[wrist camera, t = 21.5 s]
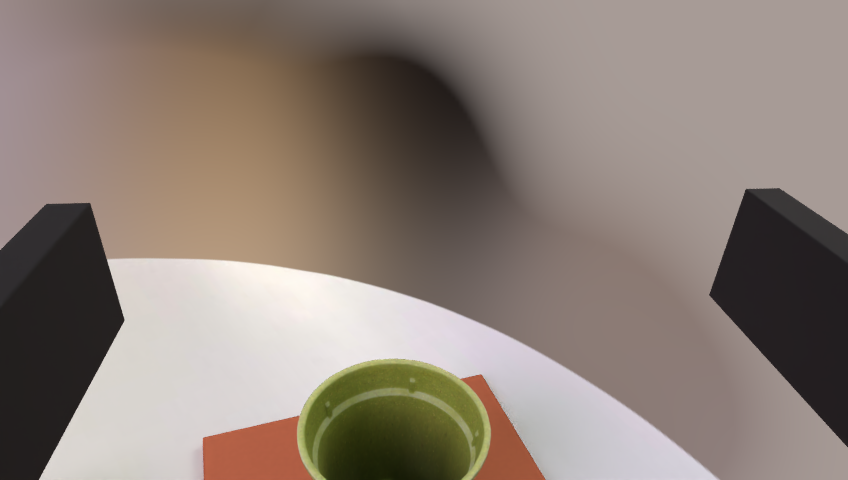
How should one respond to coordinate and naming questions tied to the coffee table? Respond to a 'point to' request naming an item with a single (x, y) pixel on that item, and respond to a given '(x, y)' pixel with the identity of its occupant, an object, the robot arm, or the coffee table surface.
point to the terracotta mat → (286, 476)
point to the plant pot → (393, 425)
